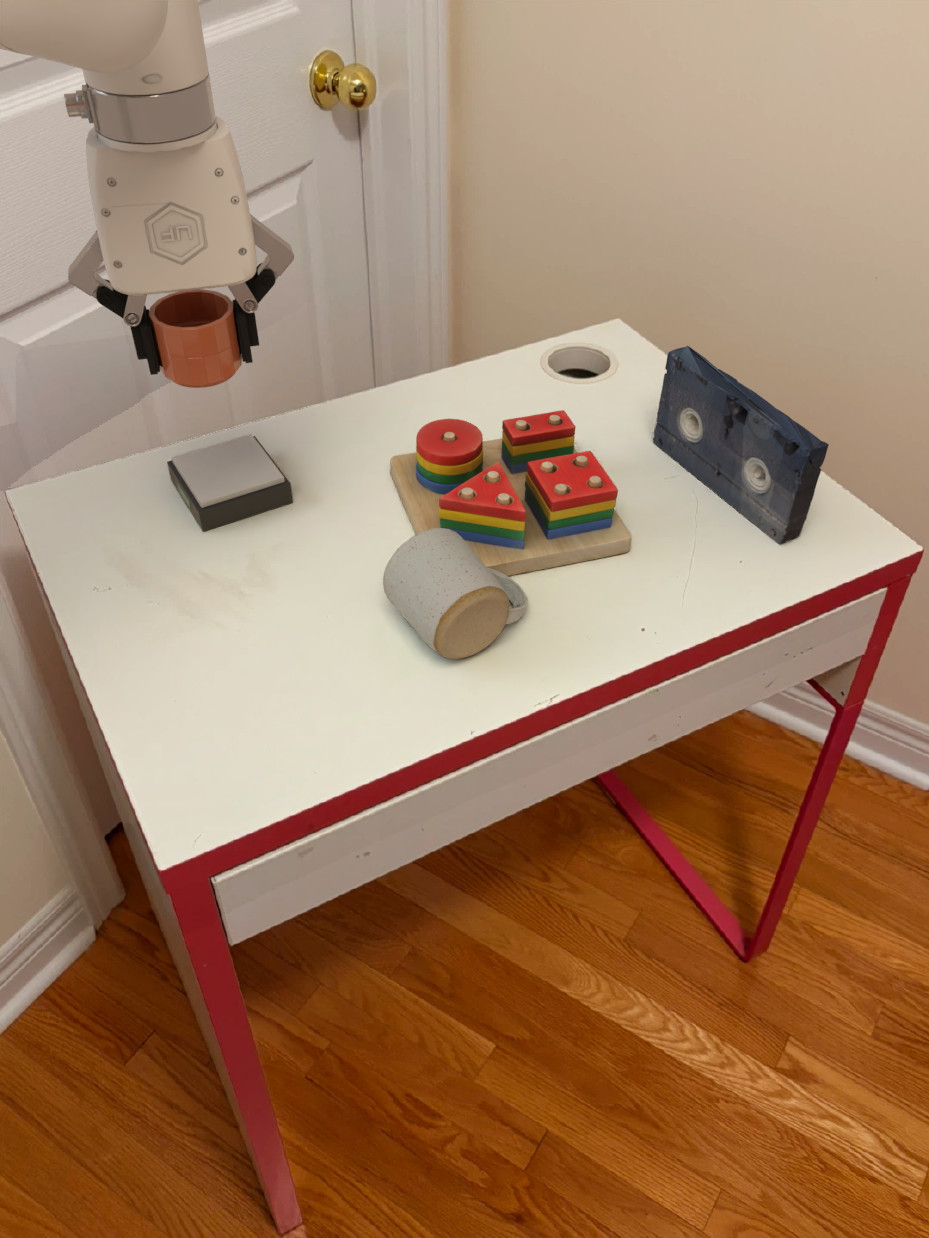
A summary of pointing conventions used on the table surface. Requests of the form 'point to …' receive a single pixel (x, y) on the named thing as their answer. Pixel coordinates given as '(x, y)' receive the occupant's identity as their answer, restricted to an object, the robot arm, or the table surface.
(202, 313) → the terracotta pot
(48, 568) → the table surface
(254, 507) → the scale
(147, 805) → the table surface
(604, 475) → the shape sorter
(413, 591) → the ceramic mug
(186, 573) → the table surface
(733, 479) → the vhs cassette tape
